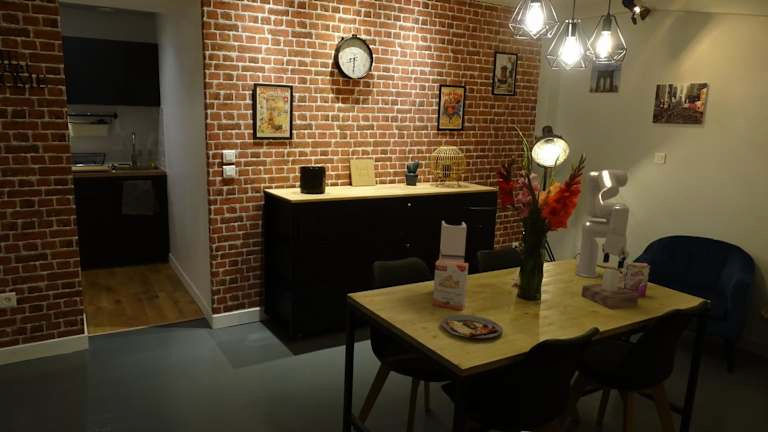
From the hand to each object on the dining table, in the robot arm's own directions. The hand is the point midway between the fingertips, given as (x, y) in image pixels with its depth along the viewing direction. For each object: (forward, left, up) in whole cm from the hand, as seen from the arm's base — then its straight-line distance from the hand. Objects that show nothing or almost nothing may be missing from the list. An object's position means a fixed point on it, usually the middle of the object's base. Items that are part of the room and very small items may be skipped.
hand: (612, 265), depth 261 cm
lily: (-30, -32, -18) cm, 47 cm away
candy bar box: (-5, +20, -18) cm, 27 cm away
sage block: (0, -1, -12) cm, 12 cm away
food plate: (+19, -86, -18) cm, 90 cm away
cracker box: (-8, -83, -18) cm, 86 cm away
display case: (-25, -75, -18) cm, 81 cm away
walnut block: (+1, 0, -18) cm, 18 cm away
